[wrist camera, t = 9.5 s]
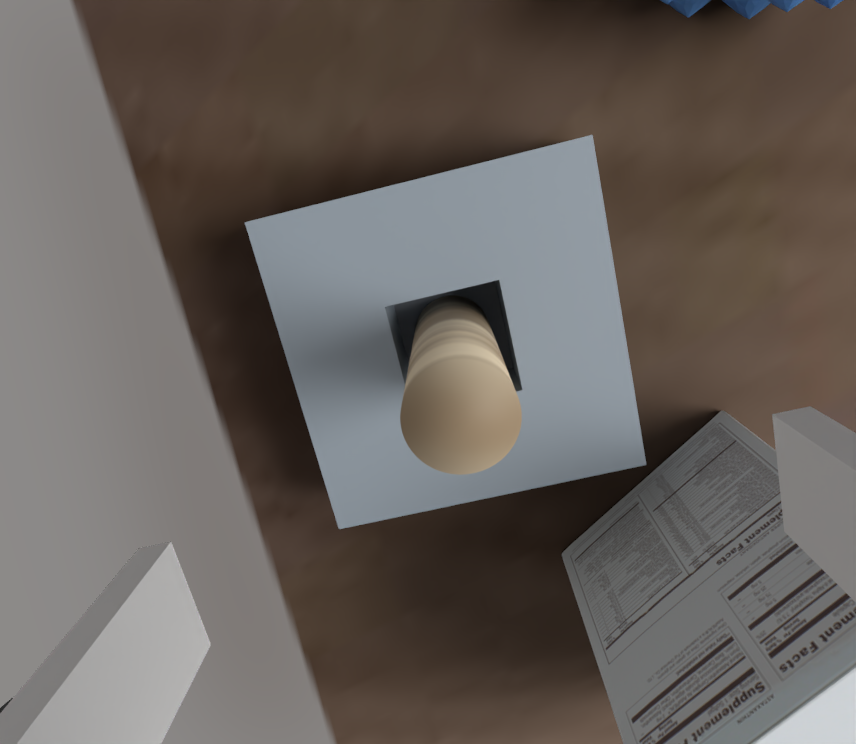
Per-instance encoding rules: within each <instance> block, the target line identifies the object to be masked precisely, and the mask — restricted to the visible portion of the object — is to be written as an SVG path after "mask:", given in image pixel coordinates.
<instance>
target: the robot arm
mask: <svg viewBox="0 0 856 744" xmlns="http://www.w3.org/2000/svg"><path fill="white" fill-rule="evenodd" d="M772 417H773V427H774V436H775V446H776V456H777V466H778V475H779V485H780V495H781V504H782V514H783V524H784V532H785V533H786V534H787V535H788V536H789V537H790V538H791V539H792V540H793V541H794V542H795V543H796V544H797V545H798V546H799V547H800V548H801V549H802V550H803V551H804V552H805V553H806V554H807V555H808V556H809V557H810V558H811V559H812V560H813V561H814V562H815V563H816V564H817V565H818V566H819V567H820V568H821V569H822V570H823V571H824V572H825V573H826V574H827V575H828V576H829V577H830V578H832V579H833V580H834V581H835V582H836V583H837V584H838V585H839V586H840V587H841V588H842V589H843V590H844V591H845V592H846V593H847V594H848V595H849V596H850V597H851V598H852V599H853V600H854V601H855V602H856V433H855V432H853V431H851V430H850V429H848V428H846V427H845V426H843V425H841V424H839V423H838V422H836V421H834V420H833V419H831V418H829V417H827V416H826V415H824V414H822V413H821V412H819V411H817V410H816V409H814V408H812V407H805V408H800V409H796V410H791V411H786V412H781V413H777V414H772ZM210 645H211V643H210V641H209V638H208V636H207V633H206V631H205V628H204V625H203V623H202V621H201V618H200V615H199V612H198V610H197V608H196V605H195V602H194V600H193V597H192V594H191V592H190V589H189V587H188V584H187V582H186V579H185V576H184V574H183V571H182V569H181V566H180V564H179V561H178V558H177V556H176V553H175V550H174V548H173V545H172V543H171V542H167V543H162V544H158V545H153V546H148V547H143V548H139V549H138V550H137V551H136V552H135V553H134V555H133V556H132V557H131V558H130V559H129V561H128V562H127V563H126V564H125V565H124V567H123V568H122V569H121V570H120V571H119V572H118V574H117V575H116V576H115V577H114V578H113V580H112V581H111V582H110V583H109V584H108V586H107V587H106V588H105V589H104V590H103V592H102V593H101V594H100V595H99V596H98V598H97V599H96V600H95V601H94V603H92V605H91V606H90V607H89V608H88V609H87V611H86V612H85V613H84V614H83V615H82V617H81V618H80V619H79V620H78V622H77V623H76V624H75V625H74V626H73V627H72V629H71V630H70V631H69V632H68V633H67V634H66V636H65V637H64V638H63V639H62V640H61V642H60V643H59V644H58V645H57V647H56V648H55V649H54V650H53V651H52V652H51V654H50V655H49V656H48V657H47V658H46V660H45V661H44V662H43V663H42V664H41V665H40V667H39V668H38V669H37V670H36V671H35V673H34V674H33V675H32V676H31V678H30V679H29V680H28V681H27V682H26V684H25V685H24V686H23V687H22V688H21V689H20V691H19V692H18V693H17V694H16V695H15V696H14V698H12V699H11V700H9V701H8V702H7V703H6V704H4V705H3V706H2V707H1V708H0V744H161V743H162V741H163V739H164V737H165V735H166V733H167V731H168V729H169V727H170V725H171V723H172V721H173V719H174V717H175V715H176V713H177V711H178V709H179V707H180V705H181V703H182V701H183V699H184V697H185V695H186V693H187V691H188V689H189V687H190V685H191V683H192V681H193V679H194V677H195V675H196V673H197V671H198V669H199V667H200V665H201V663H202V661H203V659H204V657H205V655H206V653H207V651H208V649H209V647H210Z"/></svg>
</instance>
